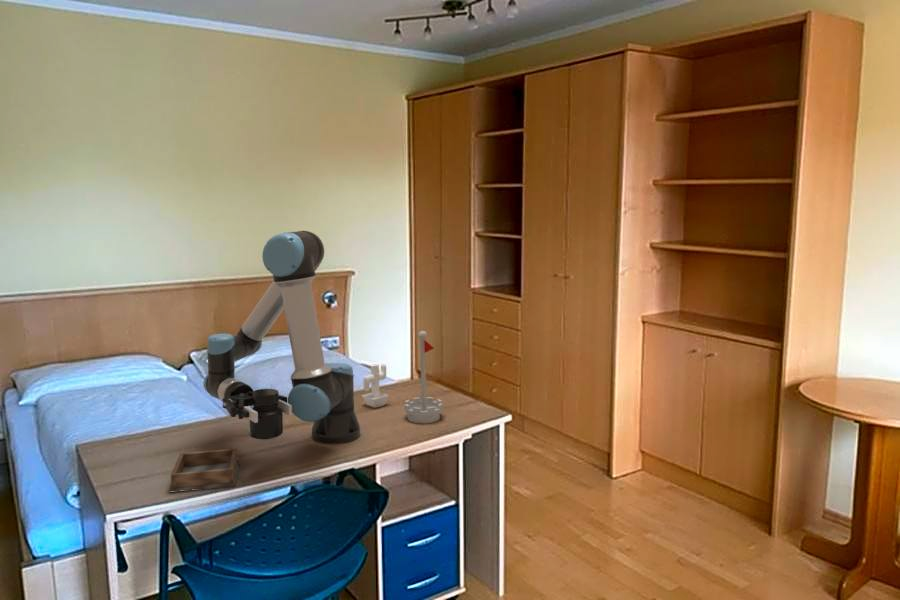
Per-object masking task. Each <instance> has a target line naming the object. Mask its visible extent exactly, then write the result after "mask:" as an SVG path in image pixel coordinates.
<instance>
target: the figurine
mask: <svg viewBox="0 0 900 600" xmlns="http://www.w3.org/2000/svg"><path fill="white" fill-rule="evenodd" d="M386 379H387V365H386V364H385V363H381V365H379V364H371V365H370V374H367V375H365V376H363V390H364V391H366V392H369V391H370V390H371V392H369V393H365V394H362V395H361V397H362V399H363V401H364V402H365V404H366V406H369V407H370V408H379V407H382V406H385V405H386V403H387V401H388V399H389V398H390V394H387V393H384V392H381V391H380V381H383V380H386ZM370 385H371V389H370Z"/></svg>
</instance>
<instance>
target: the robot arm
mask: <svg viewBox="0 0 900 600" xmlns="http://www.w3.org/2000/svg"><path fill="white" fill-rule="evenodd" d="M261 257H262V262H263V263H262V264H263V266H264V267H265V269H266V270H267V271H268V272H269V273H270V274H271V275H272V278H273V280H272V282H271V283H270V285H269V287H268V288H267V289H266V291H265V293H264V294H263V295H262V297H261V298H260V299H259V301H258V302H257V304H256V305H255V307H254V308H253V310H252V311H251V312H250V314H249V315H248V317H247V318H246V320H245V321H244V322H243V324H242V325H241V327H240V328H239V330H238V331H237V332H236V334H235V335H232V334H231V333H215V334H211V335H209V336H208V338H207V348H206V352H207V354H206V355H207V368H208V369H207V373H206V375H205V378H203V379H204V380H203V382H202V383H203V388H204V391H205V392H206V393H208V395H210V397H212V398H215V399H218V400H220V401H221V402H222V408H223V409H225V410H226V411H227V413H228V414H229V416H230V417H231V418H235V417H236V416H238V420H243V419H248V421H249V420H251V421H253V422H255V423H257V422H258V412H256V411H254V410H252V408H251V407H253V396H252V392H254V391H255V390H254V389H253V388H252V386H250V385H249V384H247V383H245V382H243V381H241V380H239V379H237V378H235V377H236V376H235V371H236V369H235V368H236V367H235V366H236V365H235V362H237V361H239V360H242V359H244V358H247V357H249V356H253V355H254V354H256V353H257V352H259V351H260V350H261V348H262V345H263V339H264V338H265V336H266V334H268V332H269V331H270V330H271V328H272V327H273V325H274V324H275V322H276V321H277V319H279V316H280V315H281V314H282V312H283V311H284V314H285V319H286V325H287V331H288V332H287V333H288V336H289V342H290V349H291V353H292V359H293V366H294V371H293V372H292V374H291V375H290V380H291V385H292V388H291V390H290V391H289V393H288V396H284V395H281V394H279V402H278V403H279V404H278V407H279V408H281V409H282V411H283V414H286V415H288V416H292V414H293V415H294V416H295V417H297V418H298V419H299V420H301V421H303V422H307V423H308V422H309V423H310V422H311V423H313V424H312V427H311V439H312V441H314V442H316V443H319V444H324V445H325V444H326V445H337V444H345V443H350V442H353V441H355V440H357V439H359V438H360V436H361V425H360V422H359V419H358V418H357V417H358V416H357V415H356V412H355V395H354V394H355V390H354V377H355V374H354V370H353V366H352V365H350V364H348V363H340V362H339V363H338V362H328V363H327V362H325V358H324V351H323V344H322V341H321V340H322V339H321V334H320V328H319V327H320V326H319V322H318V316H317V310H316V303H315V297H314V291H313V287H312V283H313V281H314V280H315V278H316V273H315V272H316V271H317V269H318V268H319V267H320V265H321V264H322V263H323V260H324V257H325V246H324V243H323V241H322V240H321V239H320V237H319V235H317V234H316V233H314V232H311V231H308V230H297V231H288V232H287V231H286V232H285V231H284V232H281V233H278V234H275V235H273V236H272V237H270V238H269V239H268V240H267V241H266V243H265V245H264V247H263V249H262V256H261Z"/></svg>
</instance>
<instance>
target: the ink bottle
mask: <svg viewBox="0 0 900 600" xmlns="http://www.w3.org/2000/svg"><path fill="white" fill-rule="evenodd" d="M253 391H254V392H252V396H253V406H252V408H251V409H252V410H254V411H256V412H258V422H257V423H255V422H253V421H251V420H249V419H248V435H249V437H251V438H253V439H257V440H271V439H274V438H278V437H281V436H282V434H284V433H283V432H284V429H283V428H284V423H283V421H284V418H283V417H284V412H283V411H282V409H281V408H279V407H278V404H279V403H278V402H279V395H280V394H279V390H277V389H275V388H259V389H256V390H253Z"/></svg>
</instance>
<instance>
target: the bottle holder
mask: <svg viewBox="0 0 900 600" xmlns="http://www.w3.org/2000/svg"><path fill="white" fill-rule="evenodd" d="M240 460H241V459H240V458H239V459H238V449H237V448H229V449H228V448H227V449H225V448H224V449H217V450H216V449H215V450H204V451H203V450H202V451H195V452H183V453H179V455H178V458H177V460H176V462H175V464H174V467H173V470H172V472H171V474H170V481H171V484H170V487H169V492H170V491H180V490H192V489H205V490H211V489H212V488H215V489H221V488H222V489H224V488H232V487H233V488H234V487H236V485H237V480H238V476H237V475H238V474H239V469H240V465H239V464H240V463H241V461H240ZM209 488H210V489H209ZM212 490H213V489H212Z"/></svg>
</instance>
